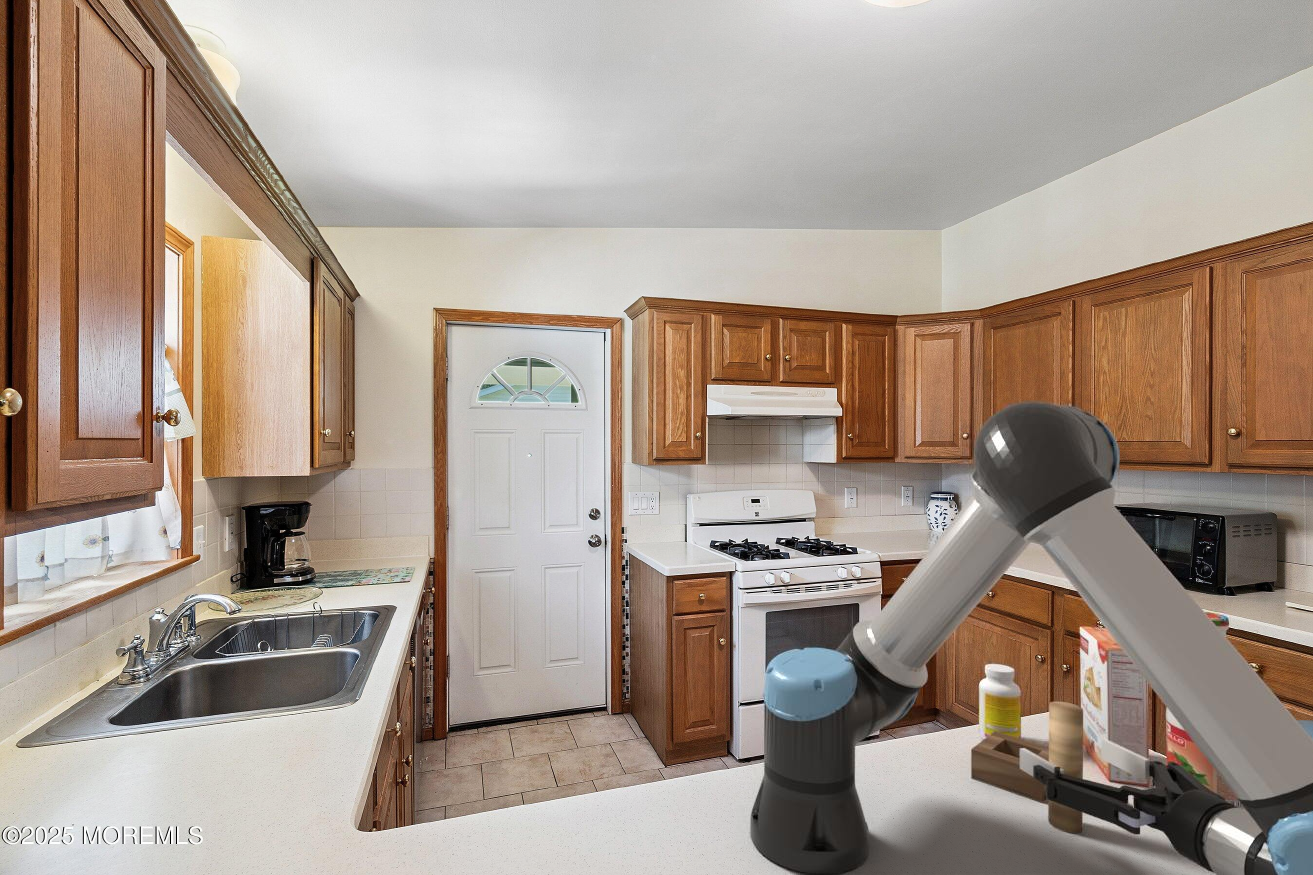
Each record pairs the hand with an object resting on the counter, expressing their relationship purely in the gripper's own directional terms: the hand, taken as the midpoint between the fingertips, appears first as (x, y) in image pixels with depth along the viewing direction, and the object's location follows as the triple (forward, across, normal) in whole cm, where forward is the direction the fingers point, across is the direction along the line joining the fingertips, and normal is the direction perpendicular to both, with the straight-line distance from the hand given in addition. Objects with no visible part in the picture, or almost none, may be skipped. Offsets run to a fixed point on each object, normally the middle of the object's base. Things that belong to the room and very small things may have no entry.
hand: (1063, 753), depth 92 cm
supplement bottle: (+24, +11, -10) cm, 28 cm away
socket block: (+12, +3, -9) cm, 15 cm away
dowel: (-1, 0, -9) cm, 9 cm away
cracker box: (+12, +22, -10) cm, 27 cm away
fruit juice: (-2, +23, -10) cm, 25 cm away
